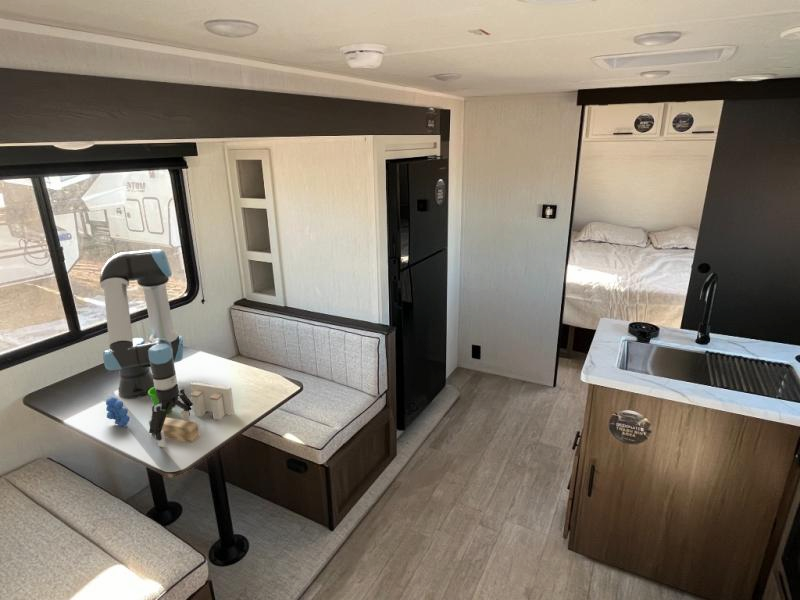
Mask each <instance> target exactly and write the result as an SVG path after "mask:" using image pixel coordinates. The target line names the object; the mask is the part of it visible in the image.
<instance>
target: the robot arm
mask: <svg viewBox="0 0 800 600" xmlns="http://www.w3.org/2000/svg"><path fill="white" fill-rule="evenodd" d="M167 256H168V255H167V254H166V252H165V251H164V250H163V249H145V250H135V251H124V252H123V251H122V252H118V253H116V254H114V255H113V256H112V257H110V258H109V259H108V260H107V261H106V263H105V264H104V266H103V267H102V269H101V272H100V276H99V278H100V279H99V286H100V288H101V289H102V290H103V293H104V304H105V313H106V325H107V333H108V334H107V335H108V344H109V349H107V350H104V351H103V353H102V354H103V355H102V359H103V364H104V365H103V366H104V367H105V369H106V370H108V371H115V370H116V371H117V370H118V374H119V377H120V379H119V386H118V388H117V389H118V390H117V391H118V395H119V396H120V397H121V398H122V399H123V398H124V399H137V398H141V397H143V396H144V397H146V396H147V395H149V394H148V391H149V390H150V389H151V388H152V387H155V392H156V397H157V398H158V400H159V404H158V405H156V406H155V405H154V404H153V405H152V409H151V410H152V413H151V418H150V420H151V424H150V425H149V430H148V433H149V434H155V440H156V441H157V444H158V447H161V448H166V447H167V443H166V438H165V437H164V432H163V431H161V430H162V427H163V424H164V421H165V419H166V417H167V416H168V415H167V414H168V413H169V410H171V409H173V408H175V407H176V406H177V407H179V408H180V409H182V410H181V416H182V420H185V421H191V411H192V410H193V403H192V400H191V399H190V398H189V396H188V395H187V394H186V391H185V390H184V388H179V385H178V379H177V374H176V367H175V363H177V362H180V361H182V360H183V359H184V340H183V336H182V335H179V333H178V332H177V331H176V330H174V324H173V318H172V313H171V307H170V301H169V297H168V290H167V286H166V285H167V284H168V282H169V281H170V278H171V277H172V269H171V266H170V263H169V260H168V257H167ZM130 281H131V282H132V281H137V285H138V286H140V287H141V288H142V290H143V295H144V300H145V305H146V308H147V309H146V310H147V315H148V320H149V325H150V331H151V334H150V336H149V339H148V340H146V341H145V339H144V338H142V337H133V331H132V322H131V315H130V313H131V312H130V306H129V305H130V304H129V298H128V297H129V296H128V289H127V288H129V286H130ZM179 398H180V399H179ZM163 409H164V410H166V411H162V410H163ZM158 428H159V429H158Z"/></svg>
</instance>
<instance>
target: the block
mask: <svg viewBox="0 0 800 600" xmlns="http://www.w3.org/2000/svg"><path fill="white" fill-rule="evenodd" d="M150 424H151V419H149V421H148V425H149V426H150ZM158 429H159V428H158ZM161 431H163V432H164V437H165V439H170V440H177V441H181V442H182V441H183V442H188V443H194V442H195V441H196V440H197V439H198V438H199V437H200V432H199V427H198V422H195V421H191V420H190V421H185V420H183V419H178V418H172V417H167V416H166V419H165V421H164V424H163V427H162V430H161ZM150 434H151V433H150ZM151 436H155V434H151Z"/></svg>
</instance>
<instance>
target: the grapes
mask: <svg viewBox="0 0 800 600" xmlns="http://www.w3.org/2000/svg"><path fill="white" fill-rule="evenodd" d="M105 404H106V409H105V410H106V411H107V413H106V418H107V419H108V420H114V424H115V425H117V426H121V427H127V426H128V424H129V422H130V418H131V416H130V415H128V411H129V410H128V409H127V408H125V407H124V402H122V401H120V400H119V398H117V397H114V396H112V397H109V398H107V399H106V401H105Z"/></svg>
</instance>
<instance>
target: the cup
mask: <svg viewBox="0 0 800 600" xmlns="http://www.w3.org/2000/svg"><path fill="white" fill-rule="evenodd" d="M147 395H149V397H150V400H151V401H152V404H153V405H155V406H156V405H158V404H159V400H158V398H157V397H156V392H155V387H152V388H151V389H150V390H149V391H148V394H147ZM172 409H173V408H172ZM172 409H171V410H169V413H168V414H167V416H169V415H170V414H172V412H173V411H172ZM162 411H166V410H164V409H163V410H162Z"/></svg>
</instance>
